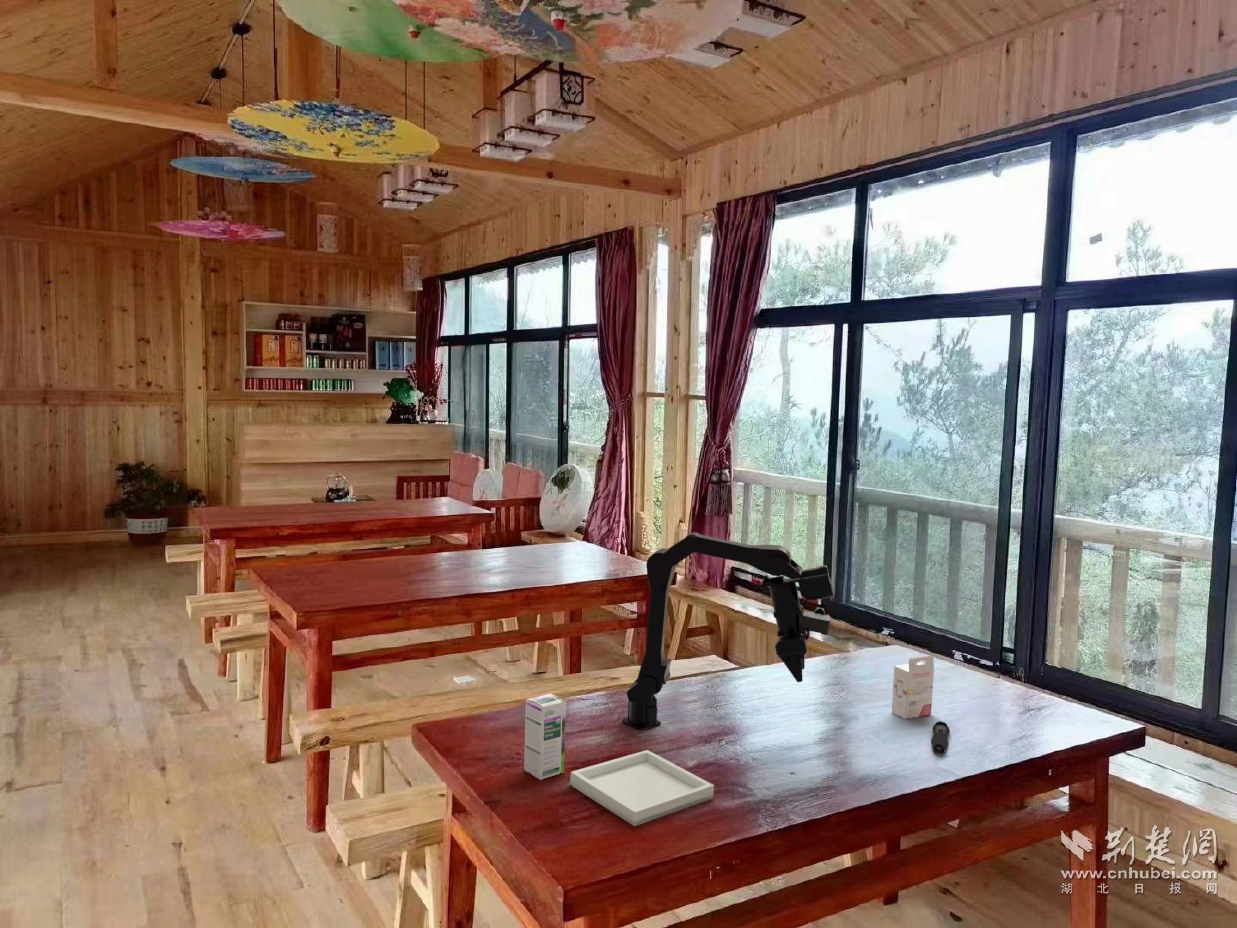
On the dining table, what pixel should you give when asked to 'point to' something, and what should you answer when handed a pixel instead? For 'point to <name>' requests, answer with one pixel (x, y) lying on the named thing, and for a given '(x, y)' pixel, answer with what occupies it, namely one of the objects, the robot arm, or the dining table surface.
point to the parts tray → (641, 787)
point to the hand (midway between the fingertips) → (801, 675)
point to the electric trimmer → (940, 736)
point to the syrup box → (545, 736)
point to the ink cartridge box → (913, 688)
